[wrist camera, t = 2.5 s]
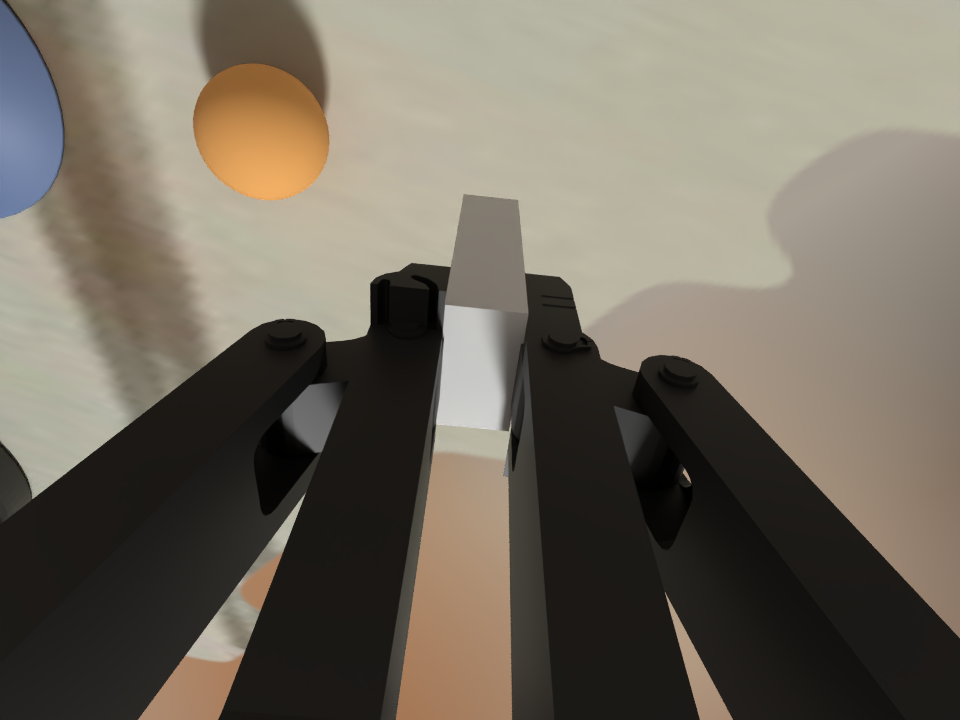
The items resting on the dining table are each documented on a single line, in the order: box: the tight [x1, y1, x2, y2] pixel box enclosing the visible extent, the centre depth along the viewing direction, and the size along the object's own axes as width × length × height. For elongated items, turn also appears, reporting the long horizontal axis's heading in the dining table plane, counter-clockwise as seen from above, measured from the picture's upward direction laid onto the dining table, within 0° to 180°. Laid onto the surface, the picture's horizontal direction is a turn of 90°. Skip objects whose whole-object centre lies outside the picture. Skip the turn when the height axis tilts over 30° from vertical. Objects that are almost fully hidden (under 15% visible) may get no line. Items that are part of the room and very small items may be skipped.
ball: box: [193, 63, 329, 200], centre depth 25 cm, size 6×6×6 cm
